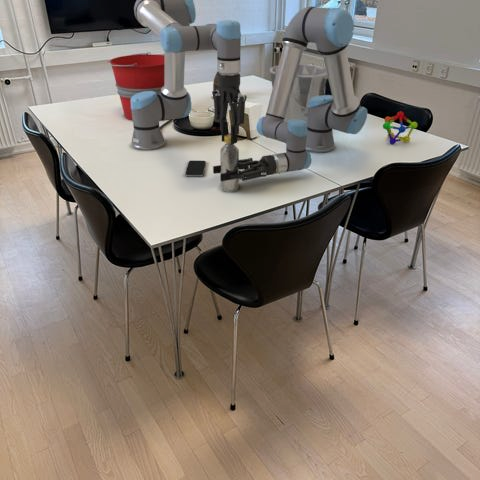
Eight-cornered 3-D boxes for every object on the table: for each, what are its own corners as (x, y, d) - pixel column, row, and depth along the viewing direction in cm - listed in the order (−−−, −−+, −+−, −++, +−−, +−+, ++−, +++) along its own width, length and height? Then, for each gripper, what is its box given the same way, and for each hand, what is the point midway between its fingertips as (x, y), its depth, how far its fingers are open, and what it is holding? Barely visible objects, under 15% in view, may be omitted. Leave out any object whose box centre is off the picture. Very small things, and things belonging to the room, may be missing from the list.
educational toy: (377, 146, 209) (379, 114, 202) (384, 138, 219) (386, 107, 211) (411, 149, 202) (415, 116, 195) (417, 141, 212) (420, 109, 204)
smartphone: (184, 174, 176) (189, 160, 189) (184, 176, 176) (189, 161, 189) (203, 175, 176) (206, 160, 188) (203, 176, 176) (206, 162, 189)
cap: (235, 139, 159) (235, 134, 158) (234, 143, 156) (234, 138, 155) (225, 139, 160) (225, 134, 159) (223, 143, 156) (223, 137, 155)
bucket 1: (123, 105, 263) (116, 51, 247) (182, 106, 262) (179, 52, 247) (107, 123, 234) (97, 63, 218) (173, 124, 233) (168, 64, 217)
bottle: (242, 188, 167) (242, 137, 157) (229, 193, 163) (229, 141, 153) (230, 182, 172) (229, 133, 161) (217, 187, 168) (216, 137, 157)
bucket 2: (296, 138, 215) (301, 78, 201) (255, 124, 234) (256, 68, 219) (335, 125, 232) (342, 70, 217) (294, 113, 251) (297, 61, 236)
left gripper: (202, 71, 147) (205, 139, 160) (242, 78, 139) (241, 150, 151) (217, 68, 152) (218, 134, 165) (256, 74, 144) (254, 144, 156)
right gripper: (284, 183, 164) (227, 193, 157) (261, 164, 180) (208, 173, 172) (285, 164, 160) (226, 174, 153) (262, 146, 176) (207, 154, 168)
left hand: (229, 141), depth 158 cm, fingers closed on cap, 4 cm apart
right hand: (217, 173), depth 162 cm, fingers closed on bottle, 7 cm apart
